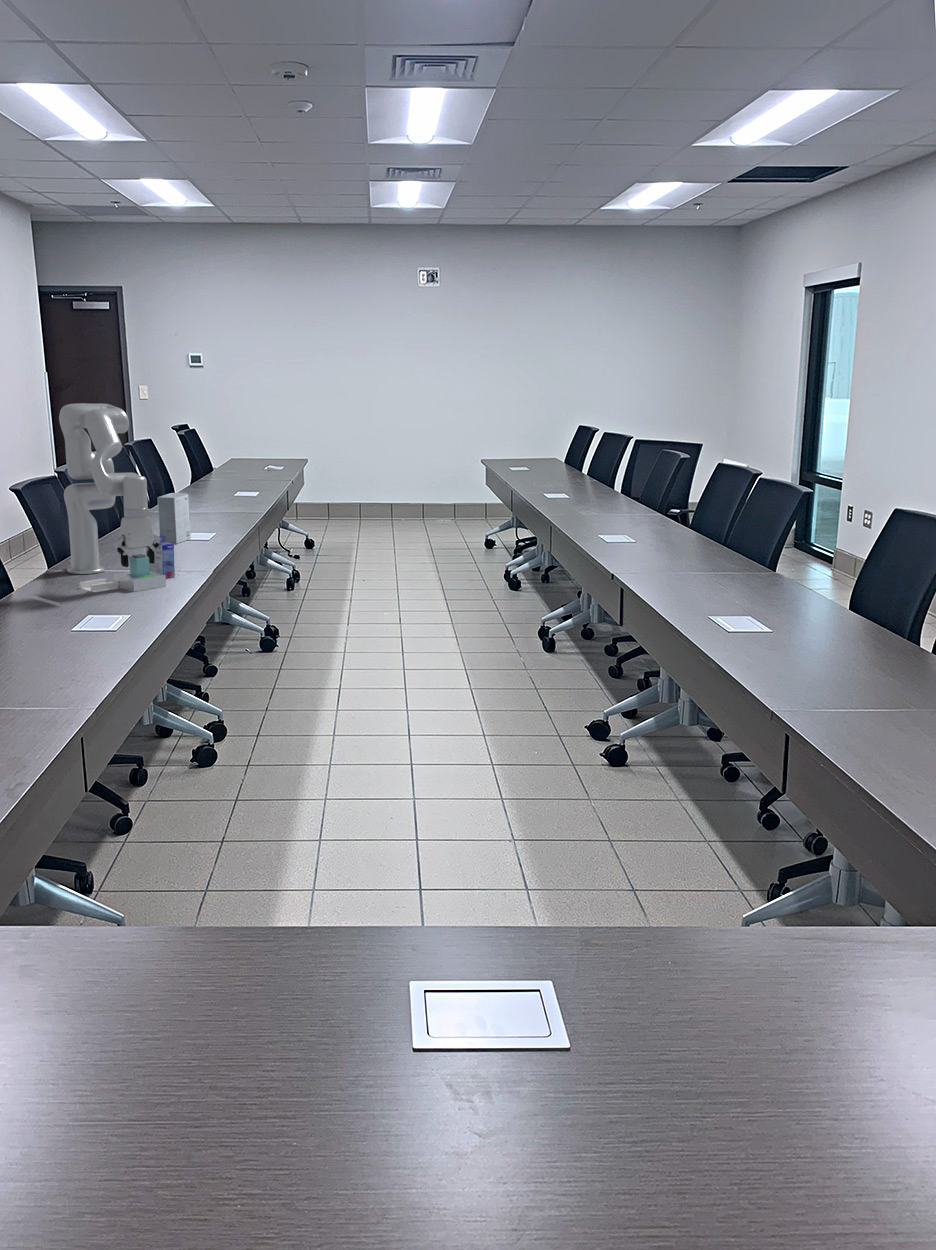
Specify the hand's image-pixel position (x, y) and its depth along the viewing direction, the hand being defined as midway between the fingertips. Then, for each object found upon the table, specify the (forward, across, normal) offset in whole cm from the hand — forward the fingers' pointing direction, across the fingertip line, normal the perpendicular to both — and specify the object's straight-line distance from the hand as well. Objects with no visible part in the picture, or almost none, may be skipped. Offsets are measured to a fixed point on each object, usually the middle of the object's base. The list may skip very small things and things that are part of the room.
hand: (138, 564), depth 349 cm
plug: (+7, 0, +1) cm, 7 cm away
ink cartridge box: (+9, -18, -14) cm, 25 cm away
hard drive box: (+10, -67, -77) cm, 103 cm away
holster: (+8, +11, -6) cm, 15 cm away
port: (+8, 0, +1) cm, 8 cm away
